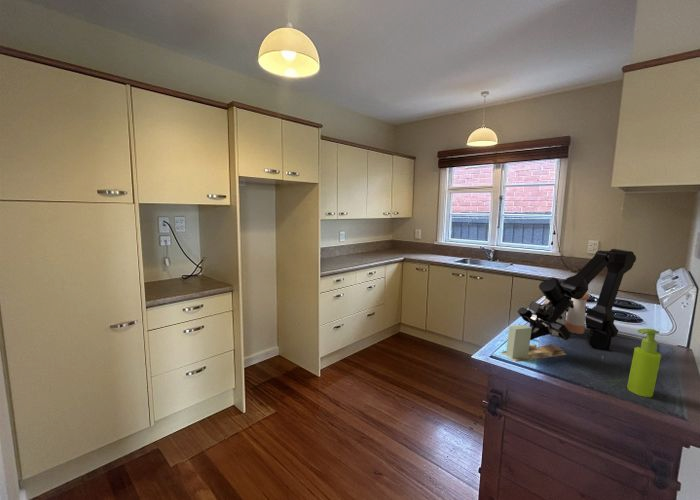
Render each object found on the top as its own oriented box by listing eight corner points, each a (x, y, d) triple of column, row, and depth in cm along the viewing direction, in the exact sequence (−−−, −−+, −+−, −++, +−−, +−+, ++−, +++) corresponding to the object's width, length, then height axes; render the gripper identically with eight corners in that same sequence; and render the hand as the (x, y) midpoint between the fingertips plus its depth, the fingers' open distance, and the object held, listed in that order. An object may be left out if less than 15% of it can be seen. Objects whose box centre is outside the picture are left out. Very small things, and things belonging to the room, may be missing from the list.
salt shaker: (588, 333, 139) (595, 291, 136) (574, 334, 137) (581, 292, 134) (573, 326, 146) (579, 286, 143) (560, 327, 144) (566, 287, 141)
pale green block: (521, 352, 117) (525, 324, 115) (527, 356, 114) (531, 327, 113) (505, 354, 115) (509, 326, 113) (512, 358, 112) (515, 329, 111)
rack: (549, 347, 124) (550, 341, 123) (566, 356, 117) (567, 350, 117) (500, 354, 117) (501, 348, 117) (515, 364, 110) (516, 357, 110)
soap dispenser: (618, 385, 99) (630, 325, 96) (639, 385, 100) (651, 325, 97) (637, 397, 94) (650, 334, 90) (658, 397, 94) (671, 334, 91)
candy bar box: (540, 325, 146) (545, 291, 143) (552, 326, 145) (557, 292, 142) (550, 335, 135) (555, 299, 132) (563, 337, 134) (569, 300, 131)
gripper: (524, 287, 122) (497, 316, 121) (569, 303, 105) (538, 337, 104) (537, 305, 126) (511, 333, 125) (583, 323, 108) (553, 357, 107)
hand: (527, 339), depth 115 cm, fingers closed, pressing on pale green block
